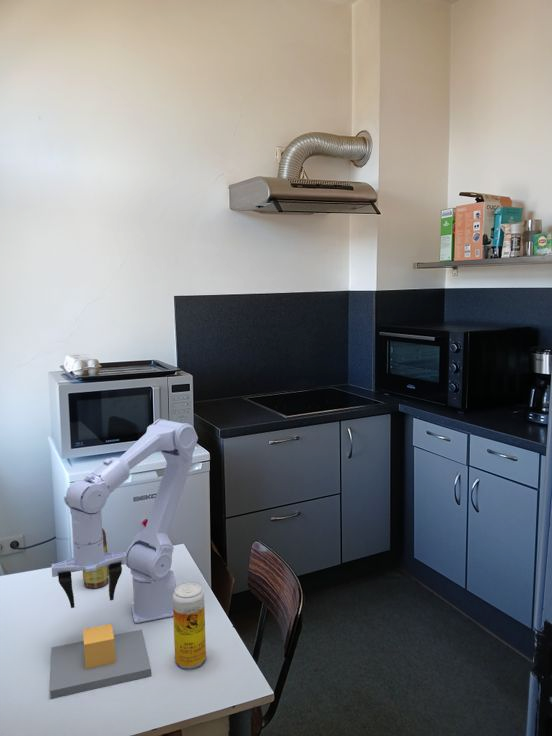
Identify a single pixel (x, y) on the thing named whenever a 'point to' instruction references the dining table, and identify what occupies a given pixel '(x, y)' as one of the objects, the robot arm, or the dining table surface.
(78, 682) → the post board
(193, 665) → the beer can
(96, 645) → the orange cube
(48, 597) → the dining table surface
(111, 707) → the dining table surface
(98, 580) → the sauce bottle
